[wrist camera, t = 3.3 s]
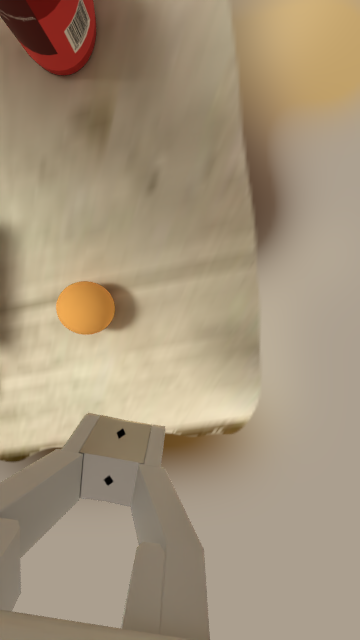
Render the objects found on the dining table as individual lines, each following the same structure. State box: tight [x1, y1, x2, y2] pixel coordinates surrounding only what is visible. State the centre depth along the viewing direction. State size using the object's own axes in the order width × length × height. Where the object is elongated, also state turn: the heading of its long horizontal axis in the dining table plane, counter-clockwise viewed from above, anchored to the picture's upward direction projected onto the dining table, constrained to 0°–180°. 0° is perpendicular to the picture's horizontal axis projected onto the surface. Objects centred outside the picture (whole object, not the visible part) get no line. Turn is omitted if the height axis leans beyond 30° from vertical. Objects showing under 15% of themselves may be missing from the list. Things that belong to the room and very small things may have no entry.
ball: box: [56, 281, 115, 334], centre depth 23 cm, size 6×6×6 cm
